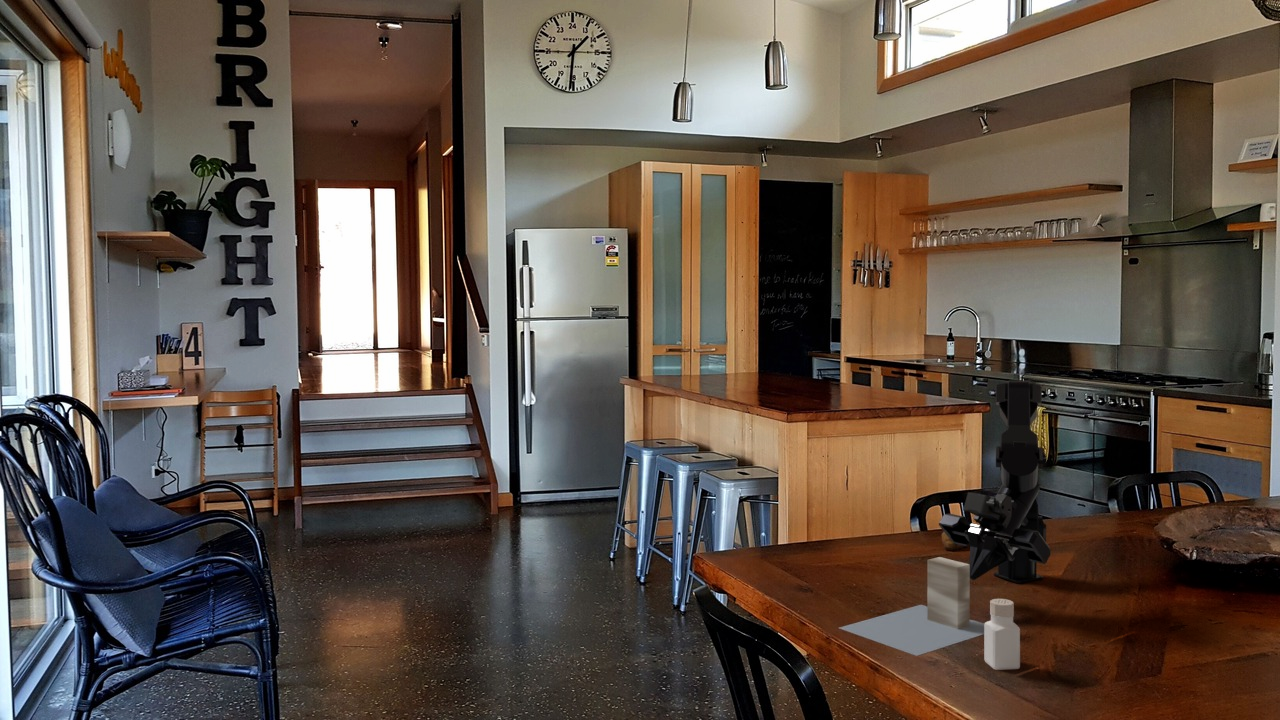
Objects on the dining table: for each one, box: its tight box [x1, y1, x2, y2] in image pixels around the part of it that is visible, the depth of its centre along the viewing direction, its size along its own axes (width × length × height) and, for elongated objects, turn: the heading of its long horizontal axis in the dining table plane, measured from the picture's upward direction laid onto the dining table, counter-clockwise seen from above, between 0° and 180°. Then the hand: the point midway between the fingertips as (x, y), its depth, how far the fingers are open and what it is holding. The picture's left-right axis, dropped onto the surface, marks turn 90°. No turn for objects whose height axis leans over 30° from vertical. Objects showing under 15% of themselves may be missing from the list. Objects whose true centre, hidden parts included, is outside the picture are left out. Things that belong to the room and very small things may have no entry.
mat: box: [838, 604, 985, 657], centre depth 163 cm, size 20×16×1 cm
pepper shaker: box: [983, 598, 1021, 671], centre depth 146 cm, size 4×4×10 cm
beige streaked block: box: [926, 556, 971, 629], centre depth 165 cm, size 3×6×10 cm, turn 35°
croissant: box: [941, 531, 966, 551], centre depth 217 cm, size 14×7×5 cm, turn 148°
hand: (970, 578), depth 168 cm, fingers closed
